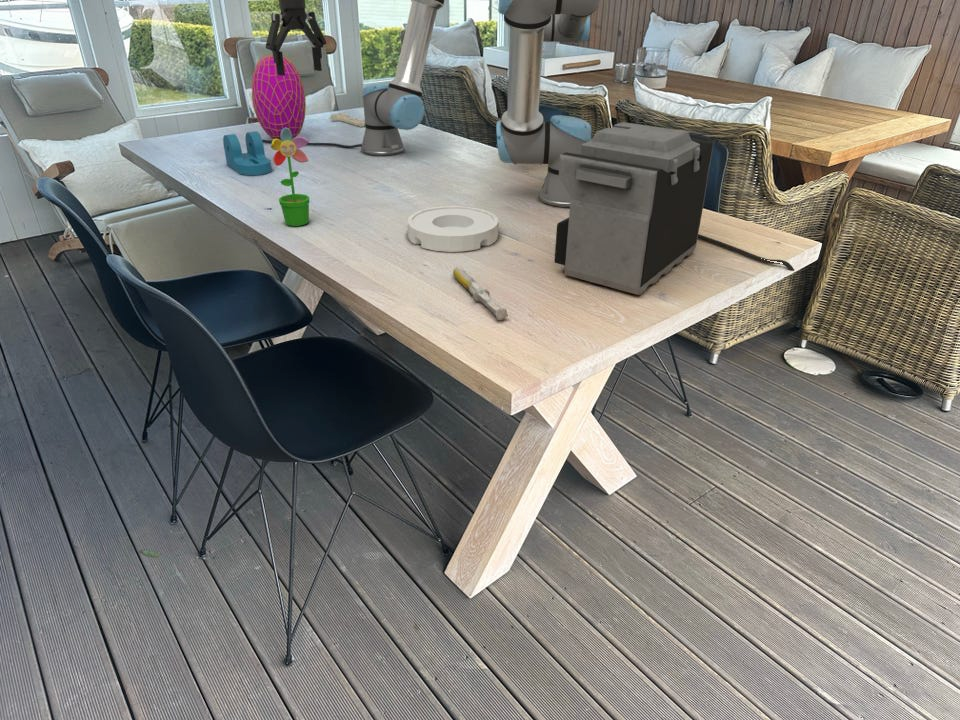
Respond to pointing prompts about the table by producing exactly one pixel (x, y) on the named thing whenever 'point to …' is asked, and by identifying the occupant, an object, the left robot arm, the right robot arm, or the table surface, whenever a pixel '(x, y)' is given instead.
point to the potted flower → (291, 178)
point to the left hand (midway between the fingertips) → (300, 72)
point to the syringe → (479, 293)
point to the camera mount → (246, 154)
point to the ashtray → (452, 228)
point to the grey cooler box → (632, 205)
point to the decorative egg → (278, 97)
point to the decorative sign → (347, 119)
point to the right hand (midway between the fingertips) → (521, 134)
